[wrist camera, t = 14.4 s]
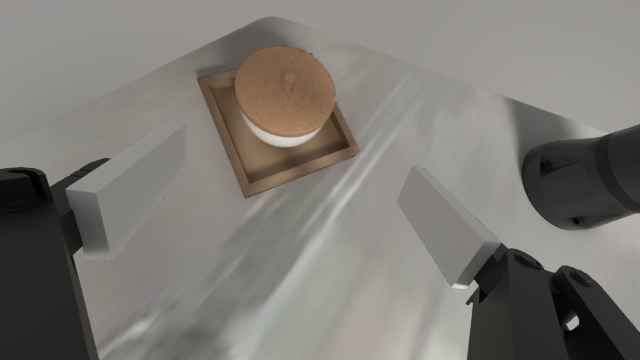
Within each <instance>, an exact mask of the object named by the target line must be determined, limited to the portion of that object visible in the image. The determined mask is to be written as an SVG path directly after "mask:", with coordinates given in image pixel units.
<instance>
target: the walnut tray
mask: <svg viewBox="0 0 640 360" xmlns="http://www.w3.org/2000/svg"><path fill="white" fill-rule="evenodd" d="M309 55H311V56H312V57H313V55H312V53H310V54H309ZM237 71H238V69H236V70H231V71H227V72H222V73H217V74H213V75H208V76H204V77H199V78H197V80H198V83H199V86H200V88H201V91H202V93H203V96H204V98H205V101H206V103H207V106H208V108H209V110H210V113H211V115H212V118H213V120H214V123H215V125H216V128H217V130H218V133H219V135H220V138H221V140H222V143H223V145H224V147H225V150H226V152H227V155H228V157H229V160H230V162H231V165H232V167H233V170H234V172H235V175H236V177H237V180H238V182H239V184H240V187H241V189H242V192H243V194H244V197H245V199H246V198H248V197H251V196H253V195H256V194H259V193H261V192H264V191H266V190H269V189H271V188H274V187H277V186H279V185H282V184H284V183H287V182H290V181H292V180H295V179H297V178H300V177H302V176H305V175H308V174H310V173H313V172H315V171H318V170H321V169H323V168H326V167H328V166H331V165H333V164H336V163H339V162H341V161H344V160H346V159H349V158H351V157H354V156H355V155H356V154H357V153H358V152H359V151H360V150H359V148H358V146H357V144H356V142H355V140H354V138H353V136H352V134H351V131H350V129H349V127H348V125H347V123H346V121H345V119H344V117H343V115H342V113H341V111H340V109H339V107H338V105H337V103H336V101H335V104H334V108H333V110H332V112H331V114H330V116H329V118H328V119H327V121H326V122H325V123H324V125H323V126H322V128H321V129H320V130H319V132H318V133H317V134H316V135H315V136H314V137H312V138H311V139H310V140H308V141H307V142H305V143H303V144H301V145H298V146H294V147H277V146H273V145H270V144H268V143H266V142H264V141H262V140H261V139H259V138H258V137H257V136H256V135H254V134H253V133H252V131H251V130H250V129H249V128H248V126H247V124H246V123H245V121H244V119H243V117H242V114H241V111H240V108H239V104H238V101H237V97H236V92H235V78H236V74H237Z"/></svg>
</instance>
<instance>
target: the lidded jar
mask: <svg viewBox="0 0 640 360" xmlns="http://www.w3.org/2000/svg"><path fill="white" fill-rule="evenodd" d="M235 92H236V97H237V101H238V104H239V108H240V111H241V114H242V117H243V119H244V121H245V123H246V124H247V126H248V128H249V129H250V130H251V131H252V133H253V134H254V135H256V136H257V137H258V138H259V139H261V140H262V141H264V142H266V143H268V144H270V145H273V146H277V147H294V146H298V145H301V144H303V143H305V142H307V141H308V140H310V139H311V138H312V137H314V136H315V135H316V134H317V133H318V132H319V130H320V129H321V128H322V126H323V125H324V123H325V122H326V121H327V119H328V118H329V116H330V114H331V112H332V110H333V108H334V104H335V87H334V84H333V81H332V79H331V76H330V75H329V73H328V71H327V70H326V69H325V67H324V66H323V65H322V64H321V63H320V62H319V61H318V60H317V59H315V58H314V57H312V56H311V55H309V54H308V53H306V52H304V51H301V50H299V49H296V48H292V47H286V46H272V47H267V48H263V49H260V50H258V51H256V52H254V53H253V54H251V55H250V56H248V57H247V58H246V59H245V60H244V61H243V62H242V64H241V65H240V67H239V69H238V71H237V74H236V78H235Z"/></svg>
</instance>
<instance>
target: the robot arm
mask: <svg viewBox="0 0 640 360" xmlns="http://www.w3.org/2000/svg"><path fill="white" fill-rule="evenodd" d="M185 172H186V141H185V124H181V123H175V122H170V121H169V122H167V123H166V124H164V125H163V126H161V127H159V128H158V129H156V130H155V131H153V132H152V133H150V134H149V135H147V136H146V137H144V138H143V139H141V140H140V141H138V142H136V143H135V144H133V145H132V146H130V147H129V148H127V149H126V150H124V151H123V152H121V153H120V154H118V155H116V156H115V157H113V158H112V159H109V158H104V159H100V160H97V161H94V162H91V163H89V164H87V165H85V166H84V167H82V168H81V169H79V171H76V172H74V173H72V174H71V175H70V176H67V177H66V178H64V179H62V180H61V181H59V182H57V183H56V184H54V185H52V186H51V187H49V184H48V181H47V178H46V175H45V174H44V173H43V171H41V170H38V169H35V168H25V167H16V168H4V169H0V360H99V358H98V354H97V350H96V346H95V342H94V338H93V334H92V330H91V325H90V321H89V317H88V313H87V309H86V305H85V301H84V297H83V293H82V289H81V285H80V281H79V277H78V273H77V269H76V265H75V261H74V258H73V255H74V254H75V253H76V252H77V251H78V250H79V249H80V248H81V247H83V250H84V253H85V257H86V259H92V260H105V261H113V260H114V258H115V257H116V256H117V255H118V254H119V252H120V251H121V250H122V249H123V247H124V246H125V245H126V244H127V243H128V241H129V240H130V239H131V238H132V236H133V235H134V234H135V233H136V232H137V230H138V229H139V228H140V227H141V226H142V224H143V223H144V222H145V221H146V219H147V218H148V217H149V216H150V215H151V213H152V212H153V211H154V210H155V208H156V207H157V206H158V205H159V204H160V202H161V201H162V200H163V199H164V198H165V196H166V195H167V194H168V193H169V191H170V190H171V189H172V188H173V187H174V185H175V184H176V183H177V182H178V180H179V179H180V178H181V177H182V176H183V174H184V173H185ZM523 179H524V185H525V188H526V191H527V194H528V196H529V198H530V200H531V202H532V204H533V205H534V207H535V208H536V210H537V211H538V212H539V213H540V214H541V215H542V216H543V217H544V218H545V219H546V220H547V221H548V222H550V223H551V224H553V225H554V226H556V227H558V228H561V229H564V230H586V229H592V228H595V227H598V226H601V225H604V224H607V223H610V222H613V221H616V220H618V219H621V218H624V217H627V216H630V215H633V214H638V213H640V124H639V125H636V126H633V127H630V128H627V129H623V130H620V131H617V132H614V133H611V134H608V135H605V136H602V137H597V138H587V139H575V140H564V141H554V142H550V143H547V144H544V145H541V146H539V147H536V148H534V149H533V150H531V151H530V152H529V154H528V155H527V157H526V159H525V161H524V166H523ZM397 203H398V205H399V206H400V208H401V209H402V211H403V212H404V214H405V216H406V217H407V219H408V220H409V222H410V223H411V225H412V227H413V228H414V230H415V231H416V233H417V234H418V236H419V238H420V239H421V241H422V242H423V244H424V245H425V247H426V249H427V250H428V252H429V253H430V255H431V256H432V258H433V260H434V261H435V263H436V264H437V266H438V267H439V269H440V271H441V272H442V274H443V275H444V277H445V279H446V280H447V282H448V283H449V285H450V286H451V288H461V289H467V288H468V286H469V285H470V284H471V282H472V281H473V280H475V281H476V282H477V284H478V285H479V287H478V288H477V289H476V290H475V292H474V293H473V294H472V295H471V297H470V298H469V299H468V301H467V302H466V304H467V305H469V304H470V303H472V302H473V307H472V308H473V310H472V319H471V328H470V338H469V347H468V356H467V360H640V332H639V331H638V330H637V329H636V327H635V326H634V325H633V324H632V323H631V322H630V320H629V319H628V318H627V317H626V316H625V314H624V313H623V312H622V311H621V310H620V308H619V307H618V306H617V305H616V304H615V302H614V301H613V300H612V299H611V298H610V297H609V295H608V294H607V293H606V292H605V291H604V289H603V288H602V287H601V286H600V285H599V284H598V283H597V282H596V281H595V280H593V279H592V278H591V277H590V276H589V275H588V274H586V273H584V272H583V271H581V270H577V269H575V268H573V267H570V266H561V267H560V268H559V269H558V270H557V271H556V272H555V273H552V272H549V271H546V270H544V268H543V266H542V265H541V264H540V263H539V262H538V261H537V260H536V259H534V258H533V257H532V256H530V255H528V254H526V253H525V252H522V251H520V250H517V249H513V248H511V249H508V248H507V247H506V246H505V245H503V244H502V243H501V242H500V241H499V240H498V239H497V238H496V237H495V236H494V235H493V234H492V233H491V232H490V231H489V230H488V229H487V228H486V227H485V226H484V225H483V224H482V223H481V222H480V221H479V220H478V219H477V218H476V217H475V216H474V215H473V214H472V213H470V212H469V211H468V210H467V209H466V208H465V207H464V206H463V205H462V204H461V203H460V202H459V201H458V200H457V199H456V198H455V197H454V196H453V195H452V194H451V193H450V192H449V191H448V190H447V189H446V188H445V187H444V186H443V185H442V184H441V183H440V182H439V181H438V180H437V179H436V178H435V177H434V176H433V175H432V174H431V173H430V172H429V171H428V170H427V169H425V168H424V167H421V166H415V165H413V166H412V168H411V171H410V173H409V175H408V177H407V180H406V182H405V184H404V186H403V189H402V191H401V193H400V195H399V198H398V200H397ZM576 315H577V316H578V319H579V325H578V326H577V327H575V328H574V329H573V330H571V331H570V330H569V329H568V327H567V325H566V324H567V323H568V322H569V321H571V320H572V319H573V318H574V317H575V316H576Z"/></svg>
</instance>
